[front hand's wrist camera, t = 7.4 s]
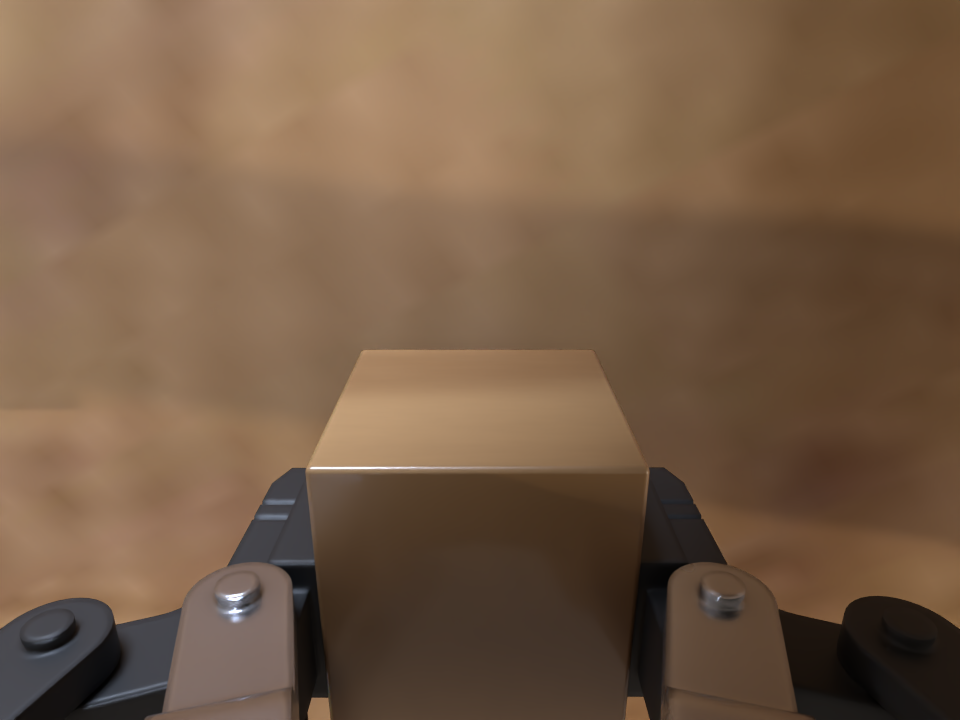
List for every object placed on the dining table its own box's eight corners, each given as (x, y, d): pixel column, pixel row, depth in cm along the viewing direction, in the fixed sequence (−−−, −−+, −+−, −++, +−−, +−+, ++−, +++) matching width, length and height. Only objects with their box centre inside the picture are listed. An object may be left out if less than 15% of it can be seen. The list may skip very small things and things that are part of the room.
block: (360, 348, 12) (302, 468, 8) (595, 348, 12) (651, 468, 8) (376, 584, 14) (334, 777, 10) (580, 583, 14) (620, 777, 10)
